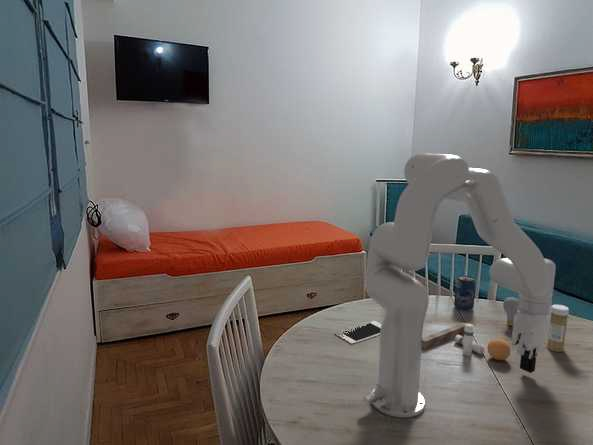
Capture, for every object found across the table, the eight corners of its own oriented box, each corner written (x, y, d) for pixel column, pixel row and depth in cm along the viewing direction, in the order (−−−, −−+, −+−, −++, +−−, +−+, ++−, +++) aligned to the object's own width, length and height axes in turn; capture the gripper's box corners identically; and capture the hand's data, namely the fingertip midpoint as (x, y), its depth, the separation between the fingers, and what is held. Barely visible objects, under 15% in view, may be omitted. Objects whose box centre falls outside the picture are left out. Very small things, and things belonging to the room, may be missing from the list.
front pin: (480, 346, 127) (456, 334, 135) (477, 354, 127) (453, 341, 135) (485, 347, 128) (461, 335, 136) (483, 355, 128) (458, 342, 136)
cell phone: (393, 332, 144) (393, 329, 144) (351, 346, 134) (352, 343, 134) (374, 322, 151) (374, 320, 151) (333, 335, 141) (333, 332, 141)
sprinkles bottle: (566, 349, 131) (572, 307, 128) (559, 353, 128) (564, 310, 126) (551, 344, 135) (556, 302, 132) (543, 347, 132) (548, 305, 130)
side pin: (468, 357, 126) (470, 328, 125) (460, 353, 128) (463, 325, 127) (473, 354, 128) (475, 325, 126) (465, 351, 130) (468, 322, 128)
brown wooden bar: (424, 349, 131) (425, 341, 130) (419, 346, 132) (419, 339, 132) (468, 331, 143) (469, 324, 143) (463, 329, 145) (463, 322, 144)
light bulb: (519, 324, 149) (522, 296, 147) (517, 330, 144) (520, 301, 142) (502, 320, 152) (505, 293, 150) (500, 326, 147) (502, 298, 145)
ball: (479, 343, 127) (488, 363, 124) (495, 336, 122) (504, 357, 120) (493, 341, 130) (502, 361, 127) (509, 334, 125) (518, 355, 122)
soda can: (455, 311, 160) (457, 280, 157) (452, 304, 166) (454, 274, 164) (475, 312, 159) (478, 281, 156) (471, 305, 165) (473, 275, 163)
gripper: (534, 295, 120) (527, 356, 124) (504, 306, 112) (498, 372, 115) (563, 303, 114) (555, 367, 118) (533, 316, 106) (526, 385, 109)
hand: (527, 369), depth 116 cm, fingers closed
